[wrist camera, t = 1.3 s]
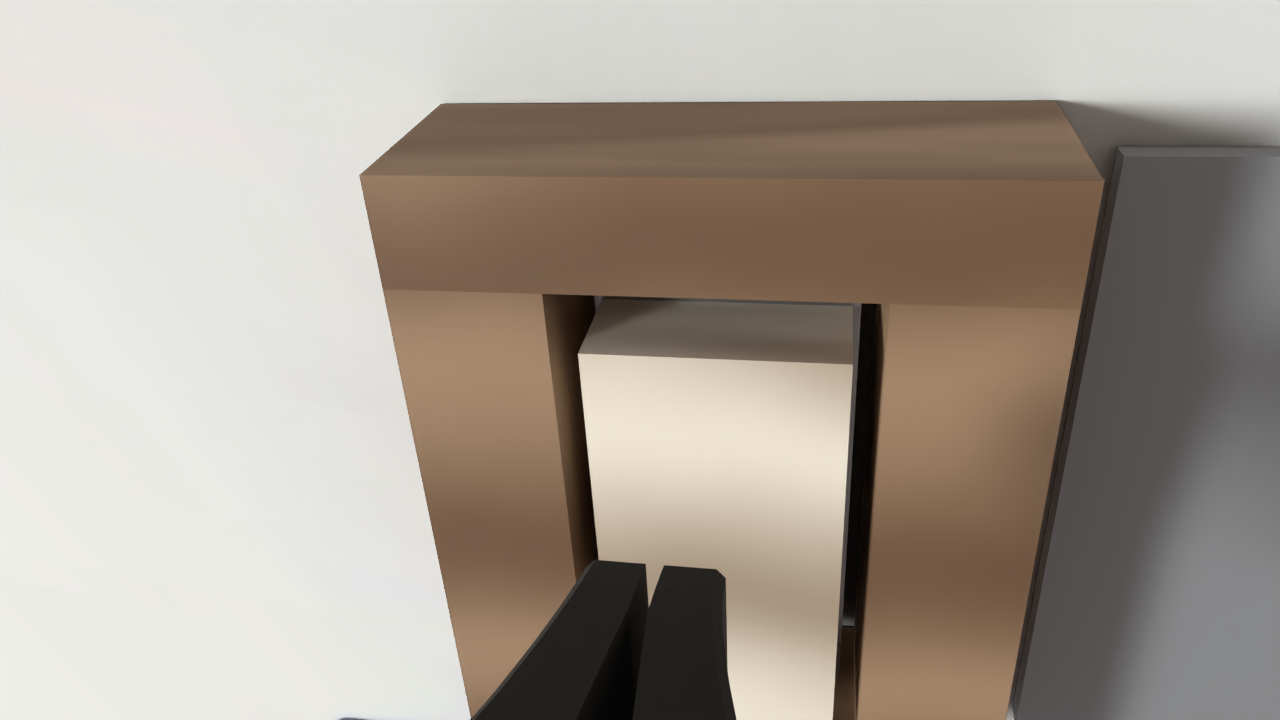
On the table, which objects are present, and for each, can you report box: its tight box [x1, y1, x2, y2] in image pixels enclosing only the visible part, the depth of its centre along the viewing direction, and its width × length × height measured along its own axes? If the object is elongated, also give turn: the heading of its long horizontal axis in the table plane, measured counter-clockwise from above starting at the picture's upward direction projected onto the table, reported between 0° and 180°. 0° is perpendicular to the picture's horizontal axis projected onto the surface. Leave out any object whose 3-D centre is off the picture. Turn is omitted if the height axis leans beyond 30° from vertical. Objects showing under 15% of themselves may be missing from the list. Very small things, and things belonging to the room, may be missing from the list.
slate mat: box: [1013, 146, 1280, 720], centre depth 20 cm, size 14×7×1 cm, turn 3°
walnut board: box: [359, 101, 1104, 720], centre depth 20 cm, size 15×11×4 cm
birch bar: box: [578, 299, 853, 720], centre depth 20 cm, size 9×4×2 cm, turn 3°
